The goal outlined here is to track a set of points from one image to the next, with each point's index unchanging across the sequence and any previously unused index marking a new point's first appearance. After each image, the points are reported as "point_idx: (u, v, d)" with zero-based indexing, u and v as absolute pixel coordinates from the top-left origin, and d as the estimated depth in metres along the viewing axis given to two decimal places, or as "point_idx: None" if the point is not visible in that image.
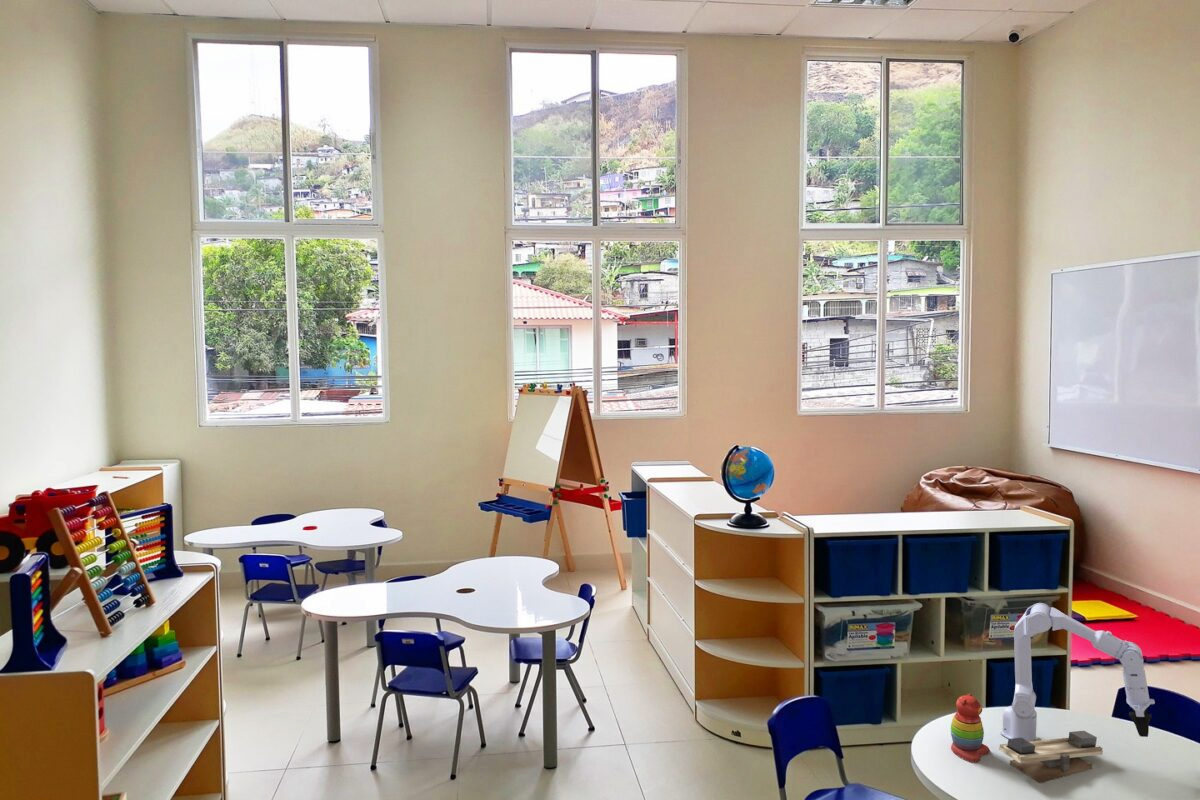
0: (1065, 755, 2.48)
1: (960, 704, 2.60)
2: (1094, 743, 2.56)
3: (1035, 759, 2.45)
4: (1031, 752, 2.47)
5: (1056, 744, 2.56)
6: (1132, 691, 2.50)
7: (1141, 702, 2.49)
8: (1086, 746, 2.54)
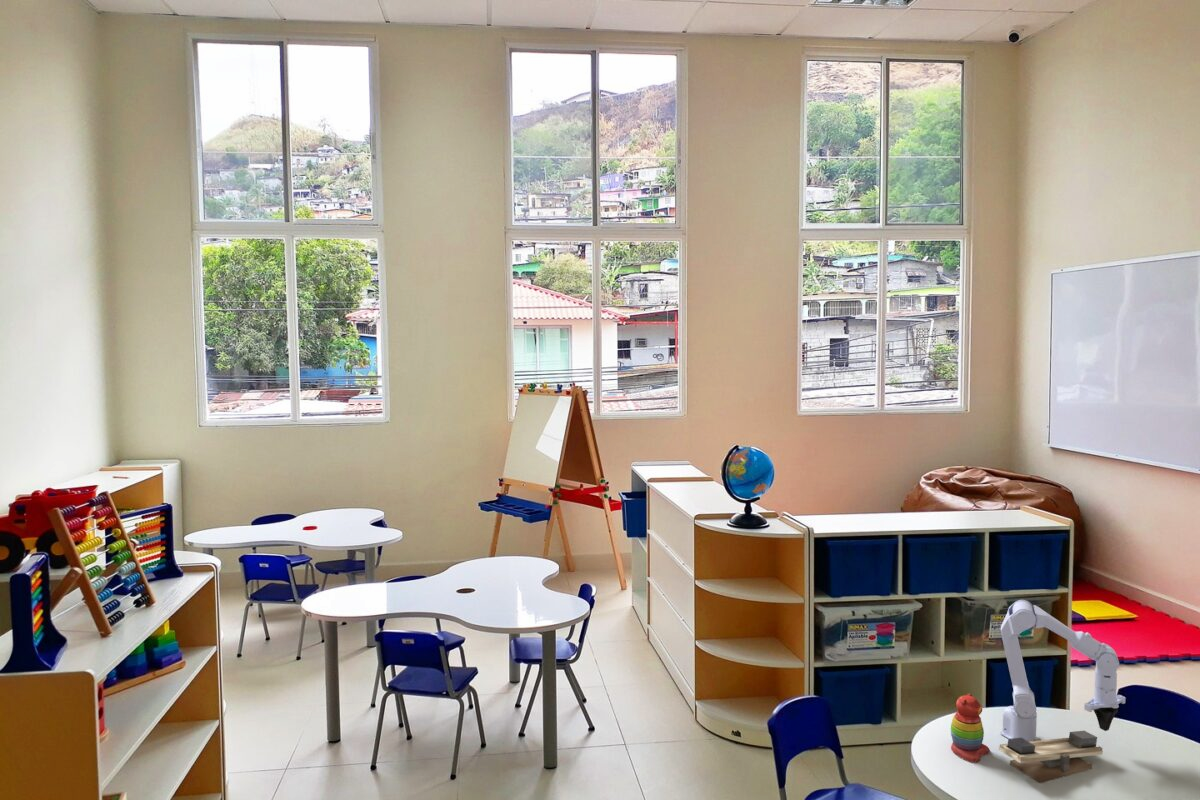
0: (1065, 755, 2.48)
1: (960, 704, 2.60)
2: (1095, 743, 2.56)
3: (1035, 759, 2.45)
4: (1031, 752, 2.47)
5: (1056, 744, 2.56)
6: (1095, 689, 2.58)
7: (1100, 701, 2.57)
8: (1086, 746, 2.55)
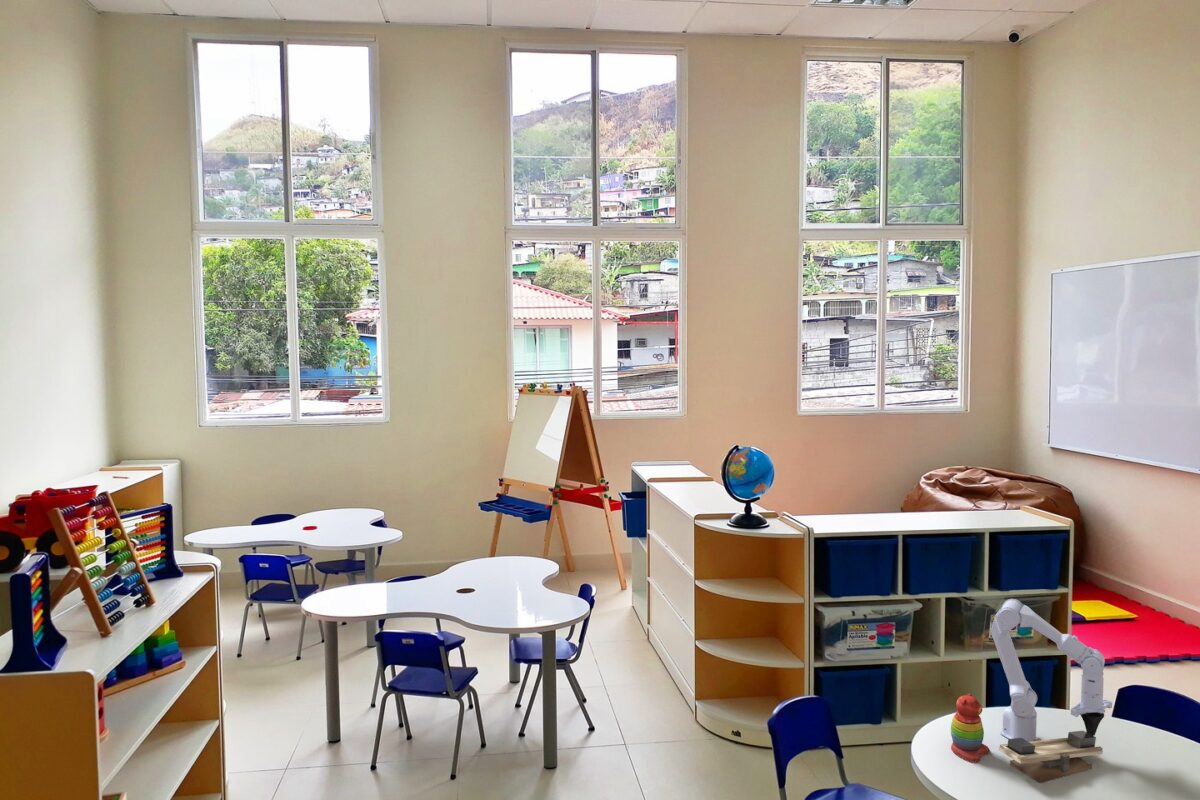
0: (1065, 755, 2.48)
1: (960, 704, 2.60)
2: (1093, 743, 2.55)
3: (1035, 759, 2.45)
4: (1031, 752, 2.47)
5: (1056, 744, 2.56)
6: (1082, 693, 2.56)
7: (1087, 706, 2.55)
8: (1085, 746, 2.54)
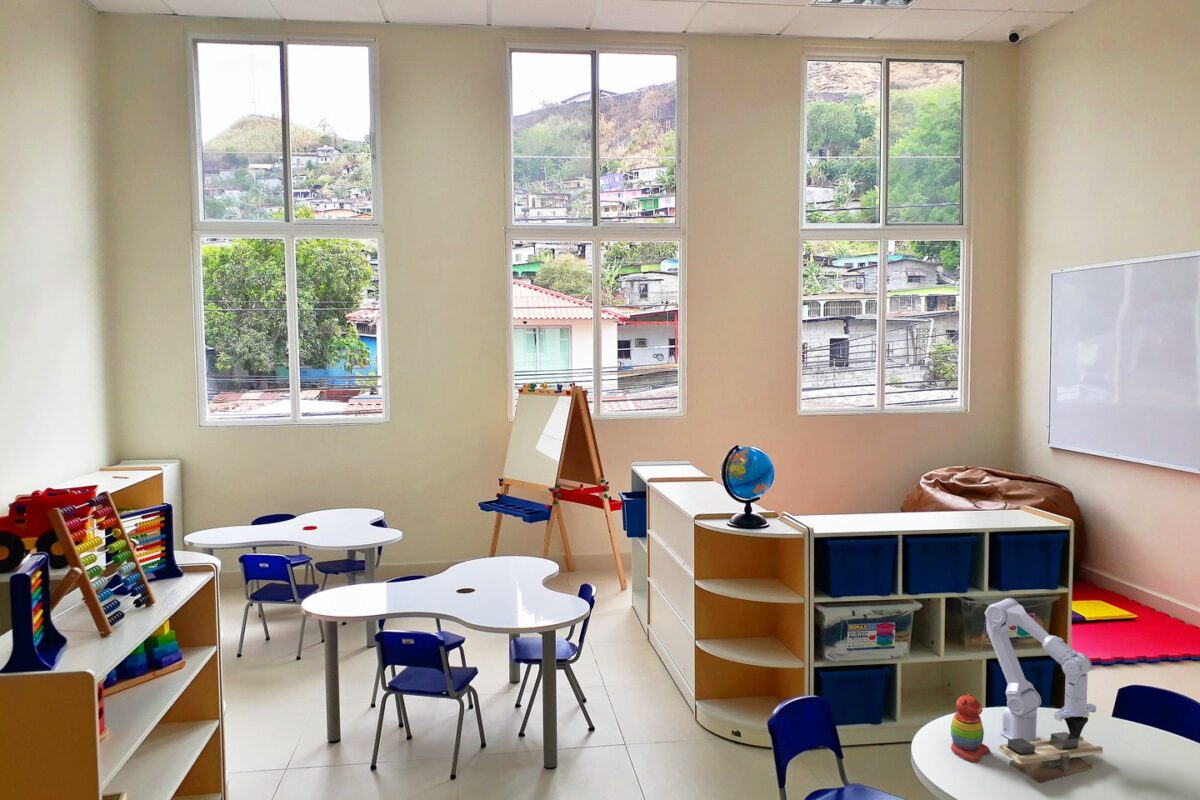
0: (1065, 755, 2.48)
1: (960, 704, 2.60)
2: (1076, 744, 2.53)
3: (1035, 759, 2.45)
4: (1031, 752, 2.47)
5: None
6: (1066, 697, 2.54)
7: (1070, 710, 2.53)
8: (1068, 748, 2.52)
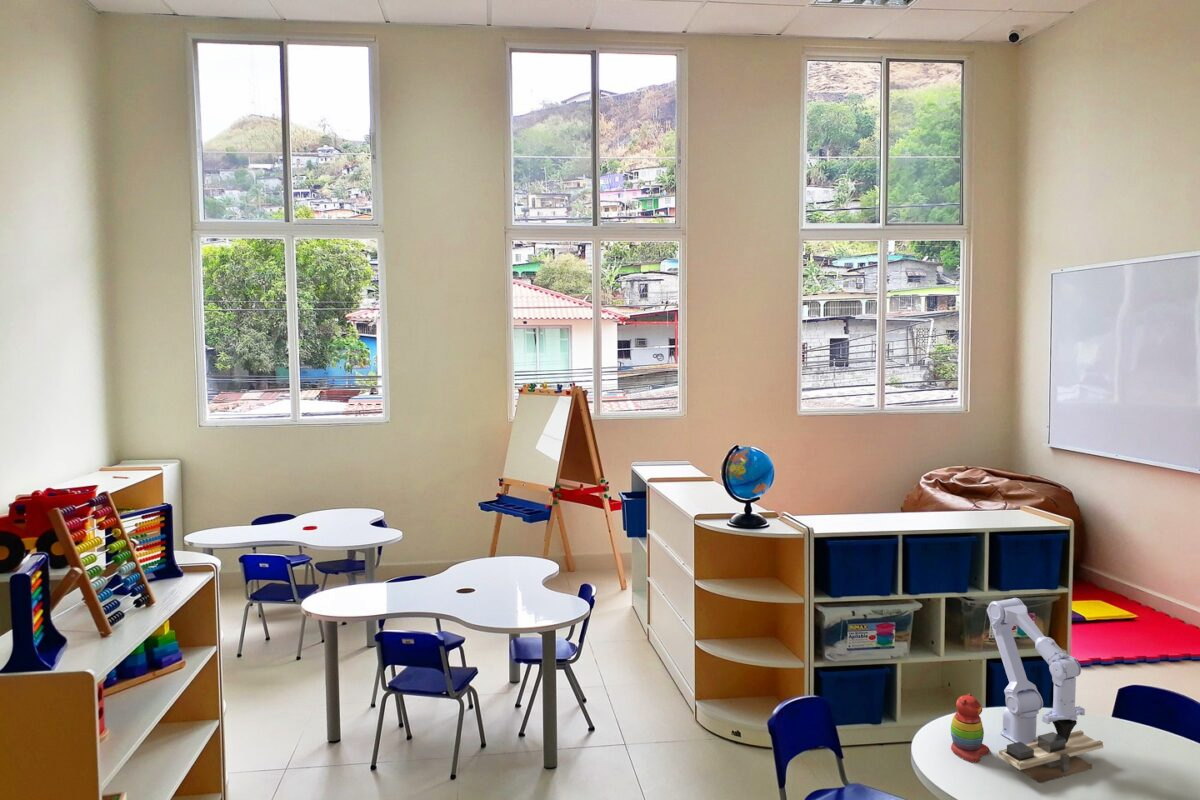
0: (1065, 755, 2.48)
1: (960, 704, 2.60)
2: (1064, 744, 2.52)
3: (1035, 763, 2.46)
4: (1030, 756, 2.47)
5: None
6: (1054, 700, 2.53)
7: (1059, 713, 2.51)
8: (1055, 749, 2.51)
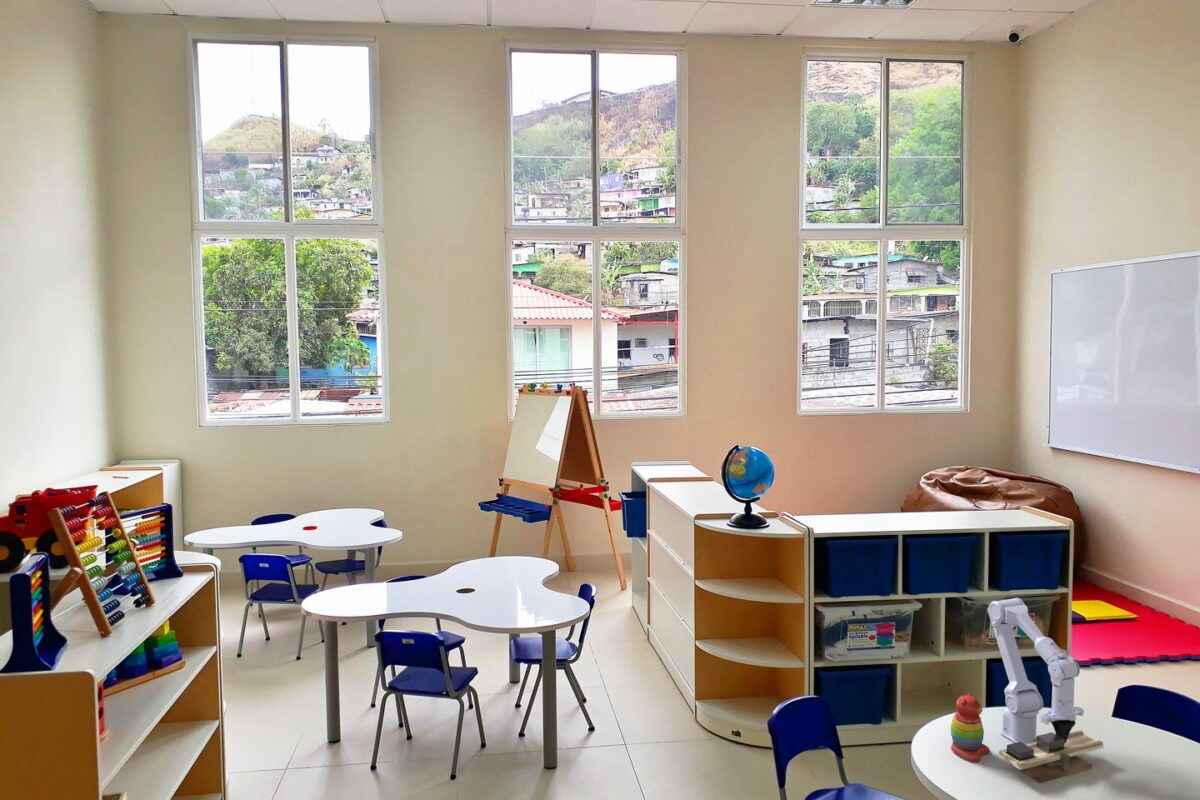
0: (1065, 755, 2.48)
1: (960, 704, 2.60)
2: (1062, 745, 2.51)
3: (1035, 763, 2.46)
4: (1030, 756, 2.47)
5: None
6: (1053, 700, 2.53)
7: (1057, 713, 2.51)
8: (1054, 749, 2.50)
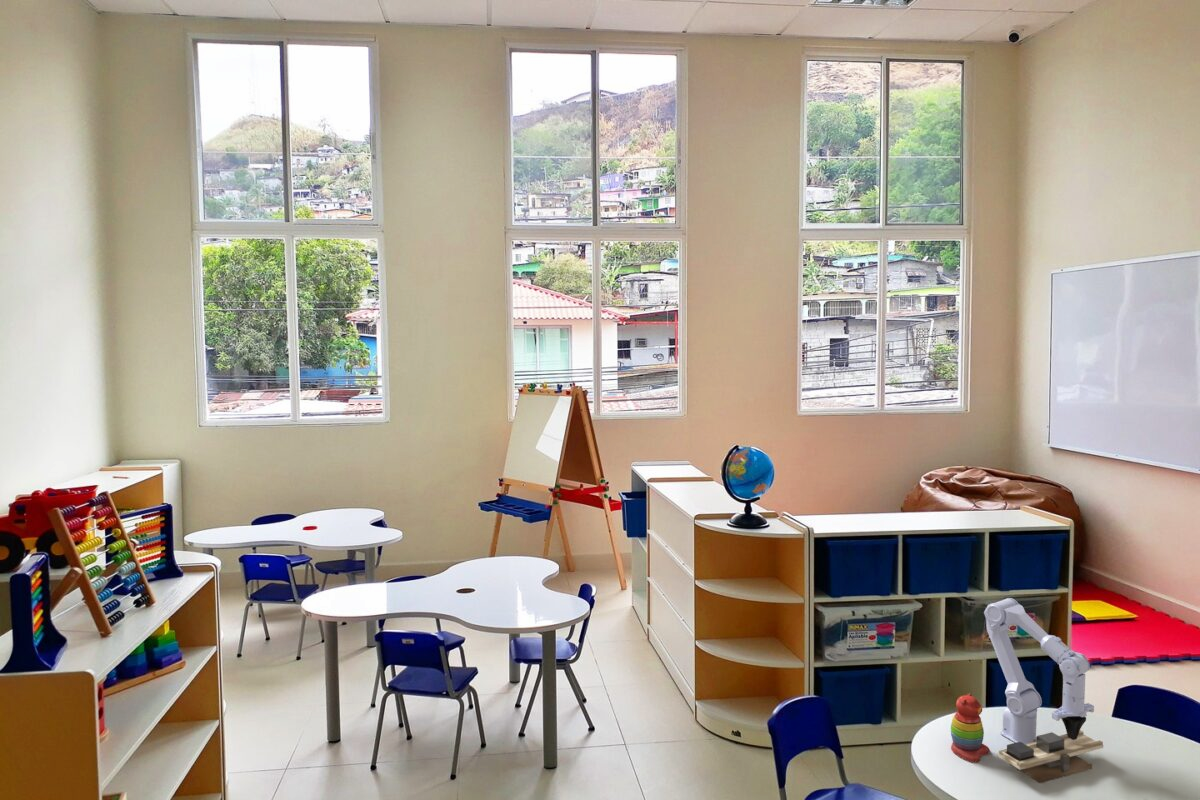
0: (1065, 755, 2.48)
1: (960, 704, 2.60)
2: (1062, 745, 2.51)
3: (1035, 763, 2.46)
4: (1030, 756, 2.47)
5: None
6: (1063, 697, 2.54)
7: (1068, 710, 2.53)
8: (1054, 749, 2.50)
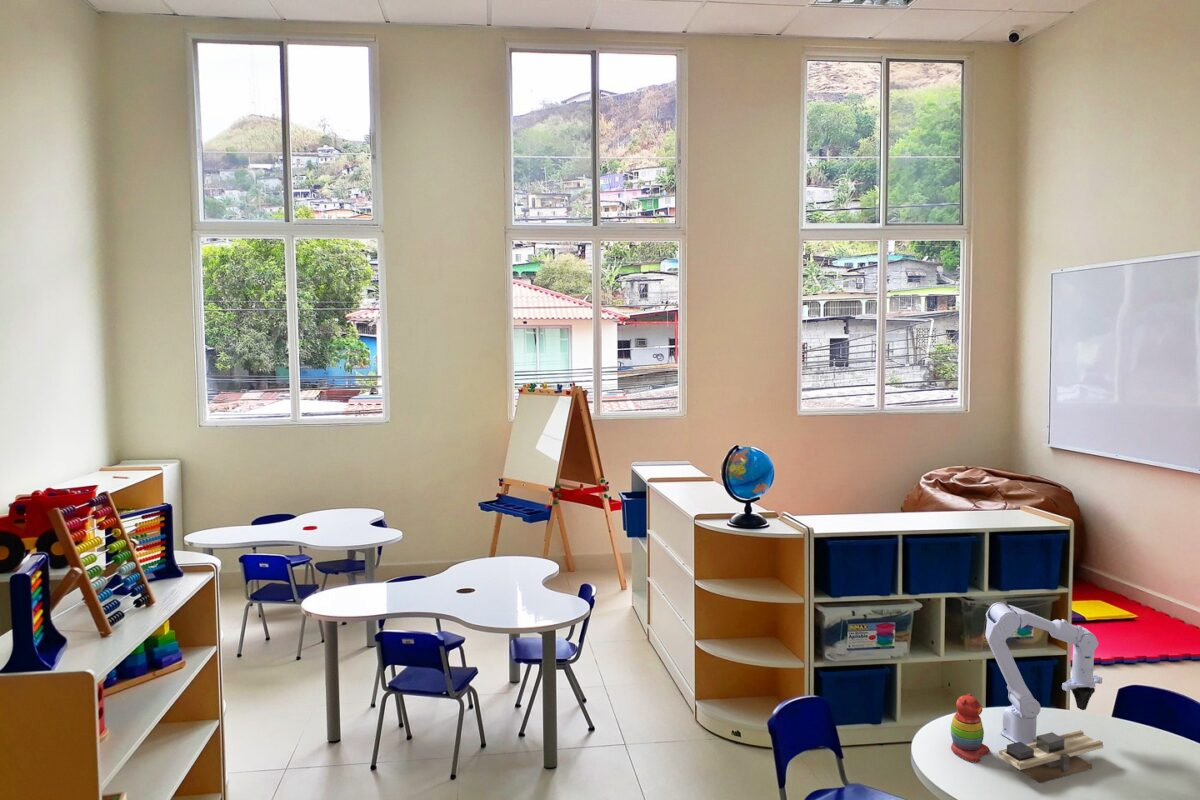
0: (1065, 755, 2.48)
1: (960, 704, 2.60)
2: (1062, 745, 2.51)
3: (1035, 763, 2.46)
4: (1030, 756, 2.47)
5: None
6: (1073, 669, 2.65)
7: (1078, 681, 2.64)
8: (1054, 749, 2.50)
